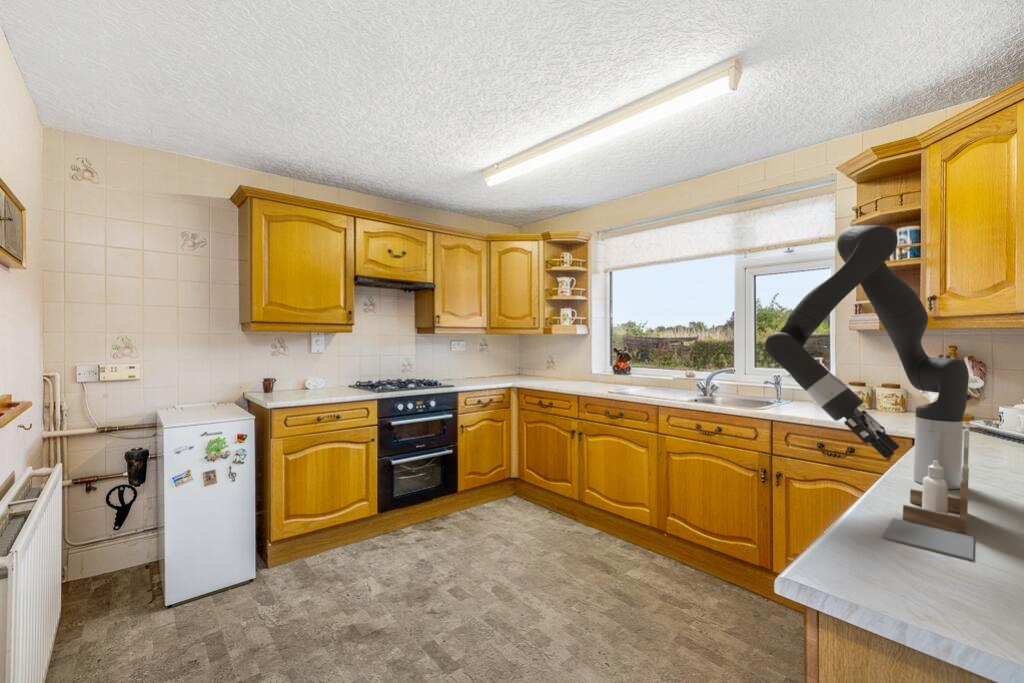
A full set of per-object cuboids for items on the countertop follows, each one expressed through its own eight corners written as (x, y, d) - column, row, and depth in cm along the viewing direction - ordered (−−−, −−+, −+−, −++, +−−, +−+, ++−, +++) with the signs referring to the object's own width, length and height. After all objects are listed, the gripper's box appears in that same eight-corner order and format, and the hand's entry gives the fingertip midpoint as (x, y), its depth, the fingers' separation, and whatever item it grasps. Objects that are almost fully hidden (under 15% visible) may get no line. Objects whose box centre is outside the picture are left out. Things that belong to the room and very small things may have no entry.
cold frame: (910, 501, 108) (912, 416, 108) (967, 513, 101) (970, 422, 101) (902, 520, 97) (905, 425, 96) (966, 534, 90) (969, 432, 90)
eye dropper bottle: (949, 516, 99) (951, 460, 99) (946, 522, 96) (947, 465, 96) (923, 510, 103) (924, 456, 102) (918, 516, 99) (920, 460, 99)
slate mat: (892, 519, 97) (892, 518, 97) (973, 538, 88) (973, 536, 88) (883, 538, 88) (883, 536, 88) (973, 561, 79) (973, 558, 79)
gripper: (841, 388, 105) (905, 448, 97) (853, 384, 115) (912, 438, 107) (813, 409, 109) (873, 468, 101) (827, 403, 119) (882, 456, 111)
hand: (893, 452), depth 104 cm, fingers open, 8 cm apart
